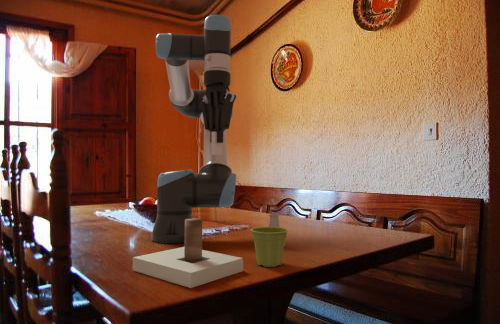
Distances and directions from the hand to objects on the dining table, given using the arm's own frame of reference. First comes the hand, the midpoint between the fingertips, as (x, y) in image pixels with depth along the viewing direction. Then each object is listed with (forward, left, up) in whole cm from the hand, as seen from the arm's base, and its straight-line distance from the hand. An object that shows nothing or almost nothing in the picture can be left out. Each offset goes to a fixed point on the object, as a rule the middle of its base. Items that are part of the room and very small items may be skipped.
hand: (216, 154), depth 104 cm
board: (+8, -18, -28) cm, 34 cm away
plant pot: (+19, -1, -28) cm, 34 cm away
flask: (+7, +18, -28) cm, 34 cm away
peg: (+10, -18, -28) cm, 35 cm away
